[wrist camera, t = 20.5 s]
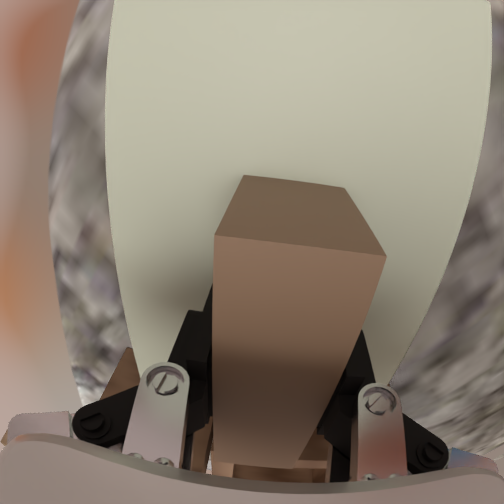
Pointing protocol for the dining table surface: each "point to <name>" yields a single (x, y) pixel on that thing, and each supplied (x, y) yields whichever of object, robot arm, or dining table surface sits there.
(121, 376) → the brown wooden box
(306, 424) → the lid
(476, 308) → the dining table surface
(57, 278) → the dining table surface
